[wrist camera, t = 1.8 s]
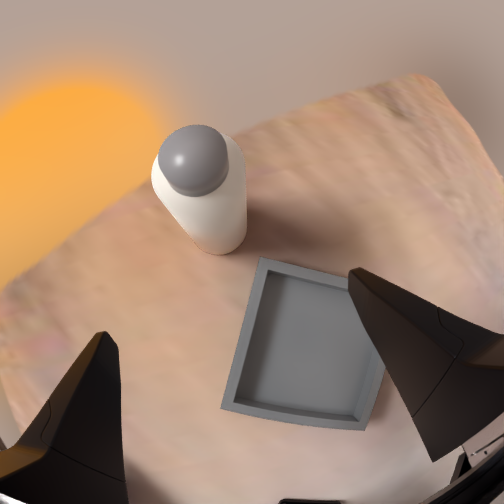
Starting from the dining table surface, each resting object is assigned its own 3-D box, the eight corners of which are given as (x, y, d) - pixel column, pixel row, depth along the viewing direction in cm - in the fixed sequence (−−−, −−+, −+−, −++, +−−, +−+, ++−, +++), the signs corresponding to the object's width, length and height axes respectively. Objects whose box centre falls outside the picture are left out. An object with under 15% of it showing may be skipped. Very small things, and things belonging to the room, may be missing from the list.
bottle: (253, 207, 24) (256, 121, 12) (238, 261, 23) (227, 211, 11) (200, 195, 24) (164, 108, 13) (183, 247, 23) (126, 190, 12)
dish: (389, 293, 23) (401, 291, 20) (355, 421, 20) (364, 430, 18) (258, 261, 23) (259, 256, 21) (222, 399, 21) (220, 408, 19)
